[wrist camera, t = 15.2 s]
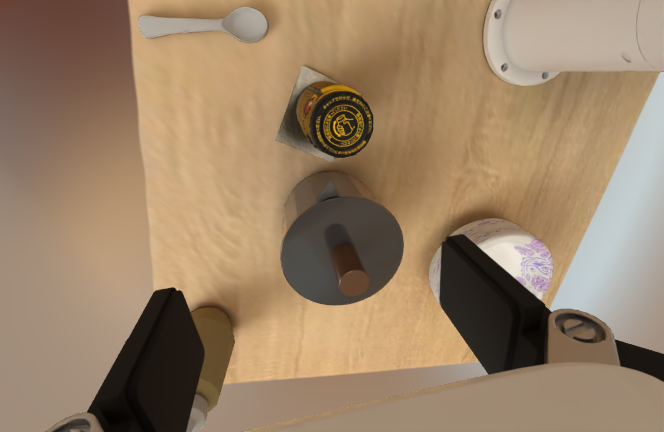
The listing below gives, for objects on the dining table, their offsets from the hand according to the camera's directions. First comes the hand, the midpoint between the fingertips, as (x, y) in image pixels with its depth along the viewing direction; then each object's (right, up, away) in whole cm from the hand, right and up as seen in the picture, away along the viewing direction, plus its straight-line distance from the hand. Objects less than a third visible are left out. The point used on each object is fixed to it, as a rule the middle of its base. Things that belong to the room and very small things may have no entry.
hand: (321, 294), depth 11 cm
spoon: (-12, +21, +20) cm, 32 cm away
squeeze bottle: (-17, -12, +34) cm, 40 cm away
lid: (+1, -1, +22) cm, 22 cm away
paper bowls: (+21, -3, +37) cm, 42 cm away
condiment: (-1, +14, +25) cm, 29 cm away
